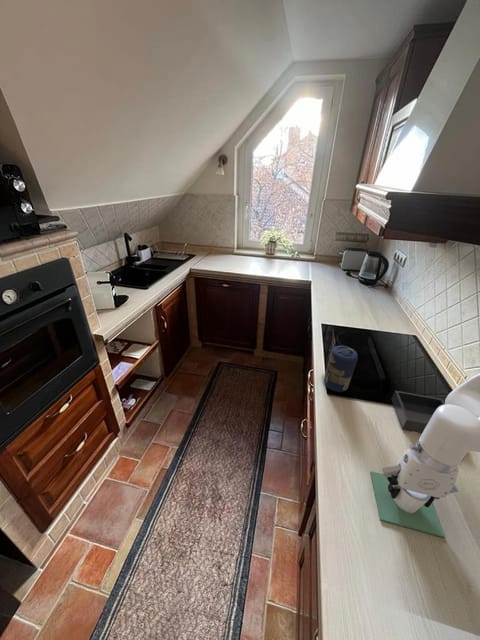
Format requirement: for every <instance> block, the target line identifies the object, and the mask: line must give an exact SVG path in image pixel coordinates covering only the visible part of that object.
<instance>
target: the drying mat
mask: <svg viewBox="0 0 480 640" xmlns="http://www.w3.org/2000/svg"><path fill="white" fill-rule="evenodd" d="M370 478H371V481H372V488H373V493H374V497H375V502H376V507H377V512H378V516H379V517H378V518H379V521H381V522H385V523H388V524H392V525H395V526H400V527H403V528H406V529H410V530H413V531H417V532H421V533H424V534H428V535H432V536H436V537H440V538H443V539H445V538H446V535H445V532H444V529H443V527H442V524H441V522H440V519H439V516H438V513H437V510H436V508H435V505H434V503H433V502H432V504H431V505H430V506H429V507H425V506H424V505H423V506H422V507H420V508H419V509H418V510H417V511H416V512H414V513H408V512H405V511H404V510H402V509H401V508H400V507H398V506H397V504H396V503H395V501H394V499H393V498H392V497H391V493H390V492H389V491H388V485H389V483H390V482H389V481H388V479H387V478H386V477H385V476H384V474H383V473H380V472H375V471H370ZM397 480H398V479H397Z"/></svg>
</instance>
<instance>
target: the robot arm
mask: <svg viewBox="0 0 480 640" xmlns="http://www.w3.org/2000/svg"><path fill="white" fill-rule="evenodd" d="M444 403H445V405H441V406H439V407H438V408H437V409H436V411H435V412H434V414H433V416H432V417H431V419H430V421H429V422H428V424H427V426H426V428H425V429H424V431H423V433H421V434H420V436H419V437H418V439H417V441H416V443H410V444H409V448H408V449H407V450H406V451H405V452H404V453H403V454H402V455H401V457H399V459H398V461H397V462H396V463H395V465H392V466H387V467H383V468H381V469H382V474H384V476H385V477H386V478H387V479H388V481H389V482H390V483H389V485H388V491H389V492H390V493H391V497H392V498H393V499H395V498H396V497H397V495H398V493H399V492H400V489H399V488H401V487H402V488H404V489H406V490H409V491H413V492H417V493H421V494H425V495H429V496H431V497H430V499H429V500H428V501H427V502H426V503H425V504H424V506H425V507H429V506H430V505H431V504H432V503H433V502H434V501H435V500H440V499H444V498H446V497H447V496H448V495H450V494H454V493H458V492H459V488H458V487H457V485H456V482H457V479H458V476H459V472H460V471H459V470H460V468H459V465H460V464H461V462H462V461H463V460H464V458H465V457H466V456H467V454H468V453H469V452H476V453H480V372H479V373H477V374H475V375H473V376H472V377H469V378H468V379H467V380H465V381H464V382H463V383H462V382H461V384H459V385H458V386H456V387H455V388H454V389H453V390H452V391H451V392H449V393H448V395H447V396H446V398H445V400H444ZM397 479H398V480H397Z"/></svg>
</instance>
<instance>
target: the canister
mask: <svg viewBox="0 0 480 640" xmlns="http://www.w3.org/2000/svg"><path fill="white" fill-rule="evenodd" d="M358 358H359V356H358V352H357V351H356V350H355V349H353V348H351V347H349V346H347V345H335V346H334V347H333V348H332V349H331V351H330V355H329V357H328V361H327V366H326V369H325V373H324V378H323V383H324V385H325V386H326V387H327V388H328V389H329V390H330V391H332V392H335V393H344V392H346V391H347V390H348V389H349V387H350V383H351V380H352V378H353V374H354V371H355V368H356V366H357V363H358Z"/></svg>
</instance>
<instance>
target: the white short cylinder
mask: <svg viewBox="0 0 480 640" xmlns="http://www.w3.org/2000/svg"><path fill="white" fill-rule="evenodd" d="M399 489H400V492H399V493H398V495H397V497H396V498H395V499H394V501H395V503H396V504H397V506H398V507H400V508H401V509H402V510H404V511H405V512H408V513H414V512H416V511H417V510H418V509H419V508H420V507H422V506H423V505H424V504H425V503H426V502H427V501H428V500H429V499H430V497H431V496H429V495H425V494H421V493H417V492H413V491H409V490H406V489H404V488H402V487H401V488H399Z"/></svg>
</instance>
